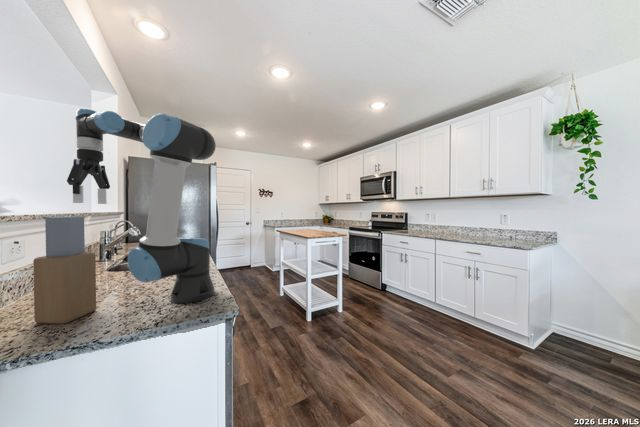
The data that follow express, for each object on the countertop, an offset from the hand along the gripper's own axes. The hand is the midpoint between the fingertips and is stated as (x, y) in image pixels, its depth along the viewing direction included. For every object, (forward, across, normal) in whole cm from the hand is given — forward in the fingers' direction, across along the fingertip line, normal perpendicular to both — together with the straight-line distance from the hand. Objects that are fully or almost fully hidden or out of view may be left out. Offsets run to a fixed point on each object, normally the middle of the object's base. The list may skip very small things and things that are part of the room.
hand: (91, 203), depth 93 cm
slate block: (+17, +22, +6) cm, 28 cm away
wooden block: (+37, +22, +6) cm, 43 cm away
